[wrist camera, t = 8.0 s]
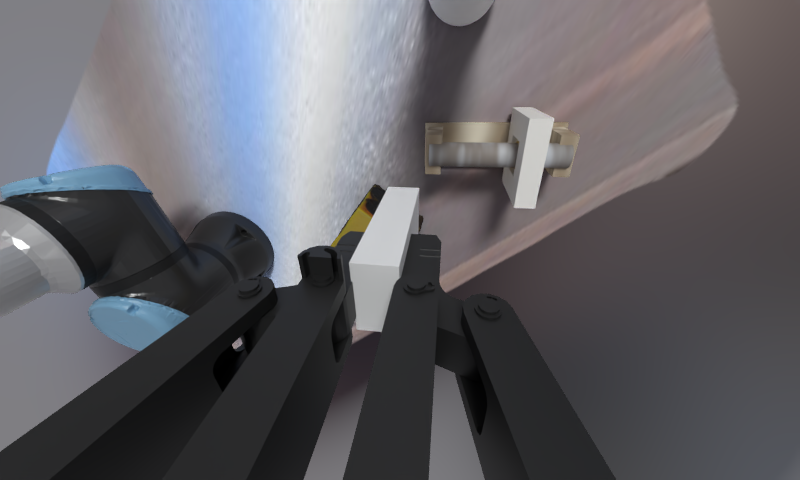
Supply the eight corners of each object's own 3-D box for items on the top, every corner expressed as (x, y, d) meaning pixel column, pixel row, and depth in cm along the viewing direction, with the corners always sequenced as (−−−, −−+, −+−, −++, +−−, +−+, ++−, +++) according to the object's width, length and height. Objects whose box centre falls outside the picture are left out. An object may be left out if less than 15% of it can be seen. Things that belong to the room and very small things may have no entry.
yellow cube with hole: (424, 217, 50) (419, 247, 42) (391, 255, 55) (380, 289, 47) (375, 180, 48) (358, 205, 40) (345, 223, 53) (324, 253, 45)
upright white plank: (501, 180, 44) (513, 207, 36) (512, 107, 39) (529, 118, 31) (518, 181, 44) (534, 208, 35) (531, 107, 39) (554, 118, 30)
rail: (425, 164, 46) (420, 180, 39) (425, 122, 43) (421, 132, 36) (556, 166, 43) (575, 184, 37) (567, 122, 40) (589, 132, 34)
